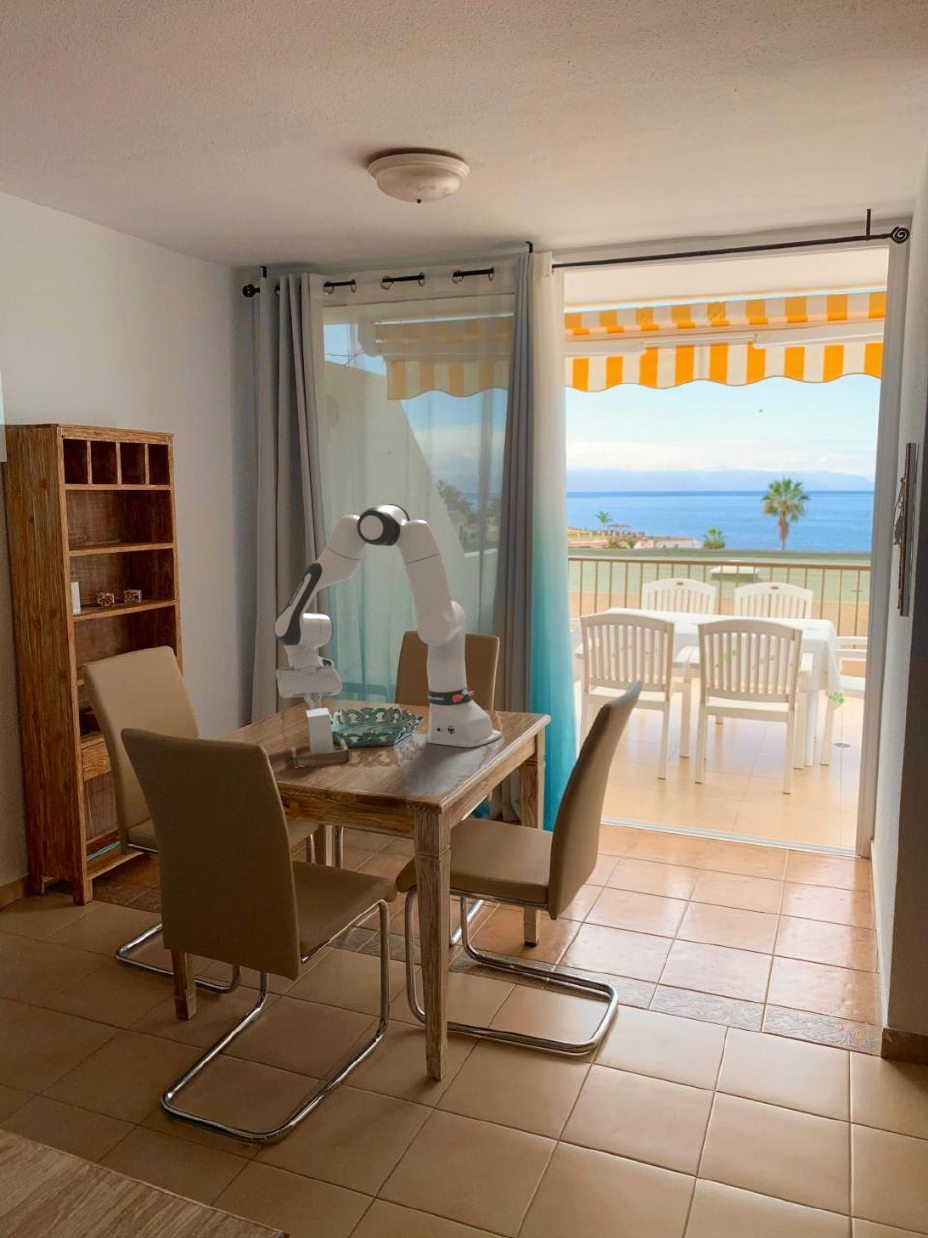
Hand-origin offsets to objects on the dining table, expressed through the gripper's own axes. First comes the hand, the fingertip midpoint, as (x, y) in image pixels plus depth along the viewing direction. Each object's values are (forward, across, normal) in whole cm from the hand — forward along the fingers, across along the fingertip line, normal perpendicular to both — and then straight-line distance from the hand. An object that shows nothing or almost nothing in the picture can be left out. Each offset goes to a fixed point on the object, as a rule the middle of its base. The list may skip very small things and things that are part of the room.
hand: (316, 708), depth 285 cm
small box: (+17, -6, -5) cm, 19 cm away
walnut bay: (+18, -7, -6) cm, 20 cm away
